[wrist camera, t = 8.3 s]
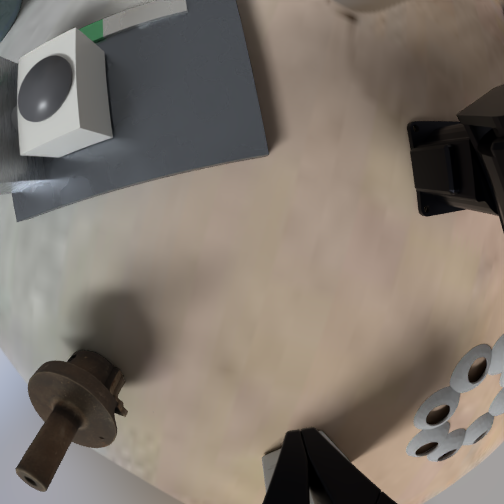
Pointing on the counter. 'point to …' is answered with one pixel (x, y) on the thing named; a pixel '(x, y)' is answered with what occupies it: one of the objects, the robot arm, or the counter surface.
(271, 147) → the counter surface
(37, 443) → the industrial component
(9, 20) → the teal cup
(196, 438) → the counter surface
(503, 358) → the grey flat openwork piece
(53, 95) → the white box with dome
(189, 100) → the bench
